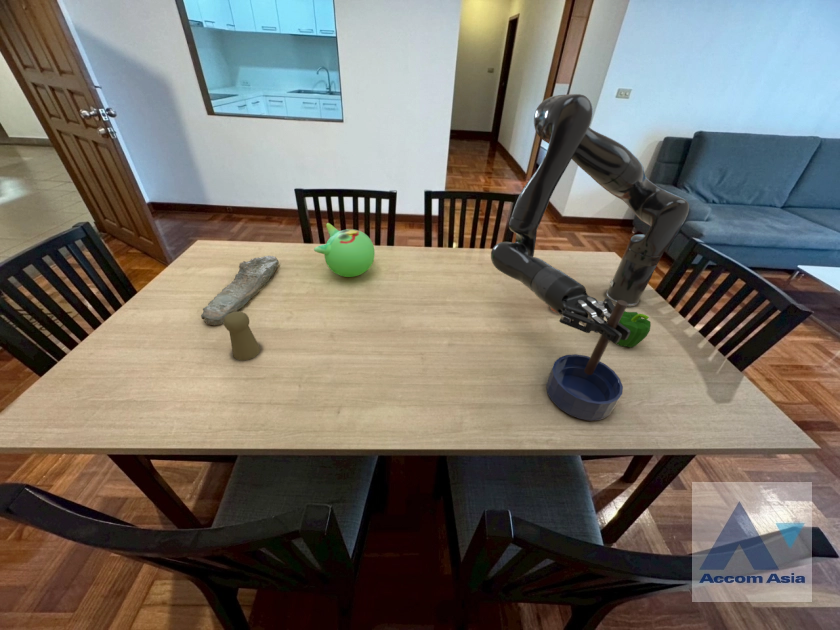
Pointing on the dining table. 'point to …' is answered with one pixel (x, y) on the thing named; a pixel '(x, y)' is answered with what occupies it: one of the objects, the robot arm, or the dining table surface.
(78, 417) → the dining table surface
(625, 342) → the bell pepper
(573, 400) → the blue bowl
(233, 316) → the olive brown pawn
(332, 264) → the toy bird
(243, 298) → the long grey stone
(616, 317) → the stirring stick
